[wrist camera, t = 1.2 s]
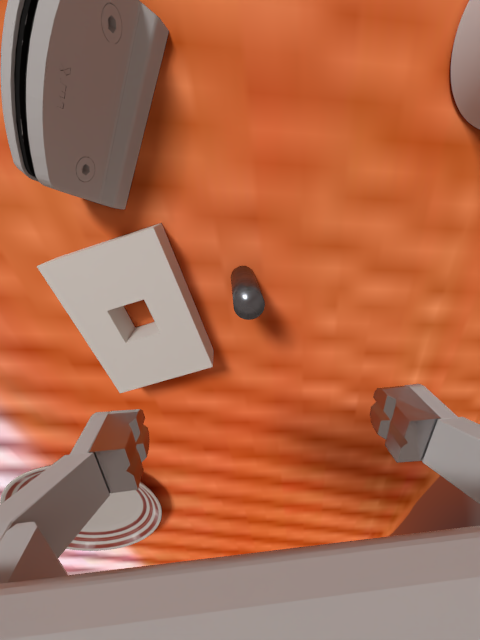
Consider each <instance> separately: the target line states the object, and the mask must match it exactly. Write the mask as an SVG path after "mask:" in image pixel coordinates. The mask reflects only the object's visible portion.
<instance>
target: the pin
mask: <svg viewBox="0 0 480 640" xmlns="http://www.w3.org/2000/svg"><path fill="white" fill-rule="evenodd" d="M231 284H232V294H233V304H234V310H235V312H236V314H237V315H238V316H239V317H241V318H243V319H247V320H250V319H254V318H257V317H258V316H260V315H261V314H262V312H263V310H264V307H265V302H264V299H263V296H262V294H261V291H260V288H259V286H258V283H257V280H256V278H255V275H254V272H253V271H252V270H251V269H250V268H249V267H247V266H239V267H237V268H236V269H234V271H233V272H232V274H231Z"/></svg>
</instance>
